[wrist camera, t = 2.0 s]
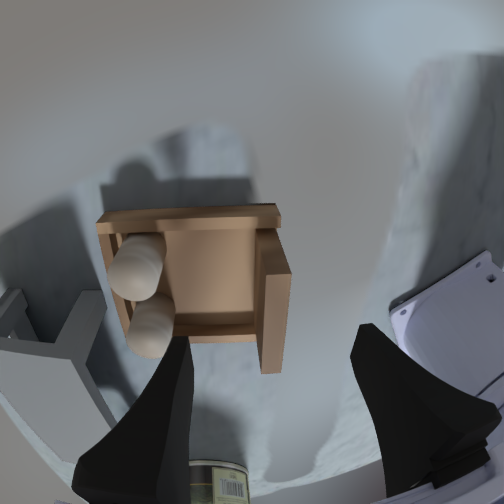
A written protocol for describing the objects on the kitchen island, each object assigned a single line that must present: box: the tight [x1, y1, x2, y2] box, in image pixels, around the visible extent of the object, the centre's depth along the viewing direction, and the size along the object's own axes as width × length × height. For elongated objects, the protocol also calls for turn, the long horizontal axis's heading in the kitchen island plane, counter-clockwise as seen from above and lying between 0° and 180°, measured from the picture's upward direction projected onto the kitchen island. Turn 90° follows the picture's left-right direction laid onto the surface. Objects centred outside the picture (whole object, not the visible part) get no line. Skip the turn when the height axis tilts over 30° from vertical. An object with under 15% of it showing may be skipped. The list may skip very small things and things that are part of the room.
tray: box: [96, 203, 292, 374], centre depth 16 cm, size 9×8×5 cm
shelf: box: [0, 289, 117, 464], centre depth 18 cm, size 8×15×6 cm, turn 179°
